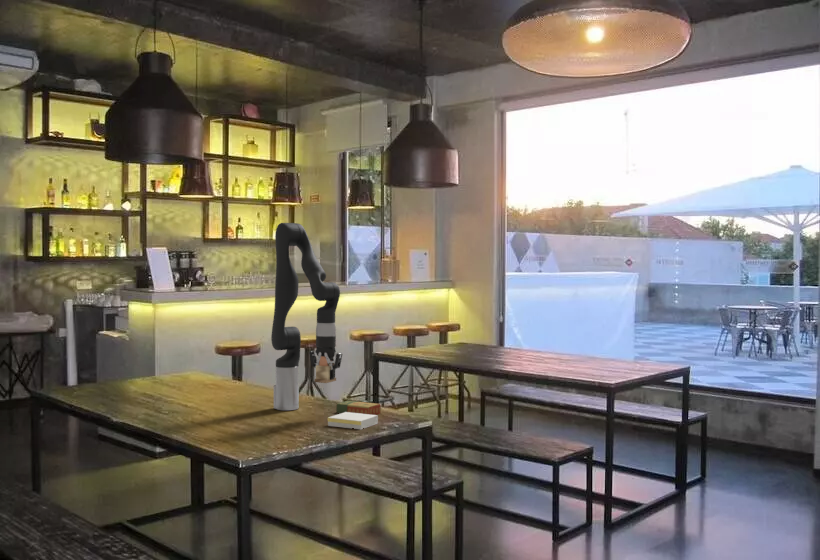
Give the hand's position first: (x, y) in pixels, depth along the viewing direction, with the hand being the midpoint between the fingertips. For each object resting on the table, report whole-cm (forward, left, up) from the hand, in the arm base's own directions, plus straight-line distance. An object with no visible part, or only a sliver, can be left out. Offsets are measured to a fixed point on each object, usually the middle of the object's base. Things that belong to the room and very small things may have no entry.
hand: (325, 378), depth 295 cm
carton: (+6, +14, -16) cm, 22 cm away
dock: (+16, -6, -15) cm, 23 cm away
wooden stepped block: (0, 0, -1) cm, 1 cm away
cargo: (0, 0, +5) cm, 5 cm away
